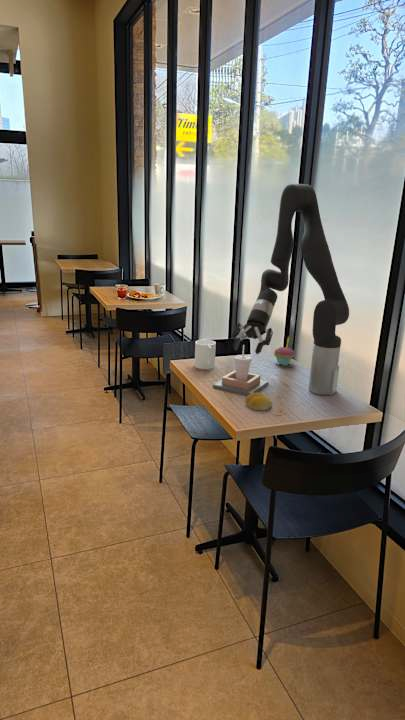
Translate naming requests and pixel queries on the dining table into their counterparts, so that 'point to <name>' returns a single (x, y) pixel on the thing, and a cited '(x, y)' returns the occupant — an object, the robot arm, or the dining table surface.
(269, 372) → the dining table surface
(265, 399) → the bread roll
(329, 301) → the robot arm
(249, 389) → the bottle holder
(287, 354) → the cupcake
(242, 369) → the smoothie
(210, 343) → the cup
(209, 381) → the dining table surface
